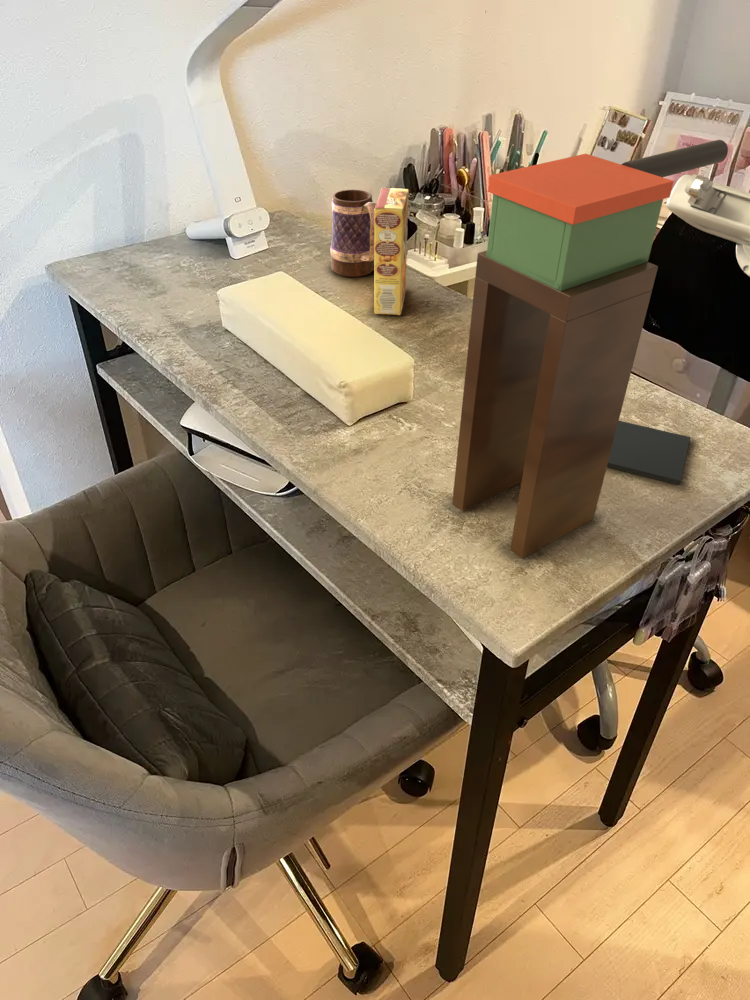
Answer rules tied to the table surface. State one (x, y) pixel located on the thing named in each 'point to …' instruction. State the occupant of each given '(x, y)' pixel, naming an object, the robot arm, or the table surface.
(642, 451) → the mat
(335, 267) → the mug
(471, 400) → the stand
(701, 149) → the red square paddle
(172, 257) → the table surface
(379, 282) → the candy box
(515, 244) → the green open box
